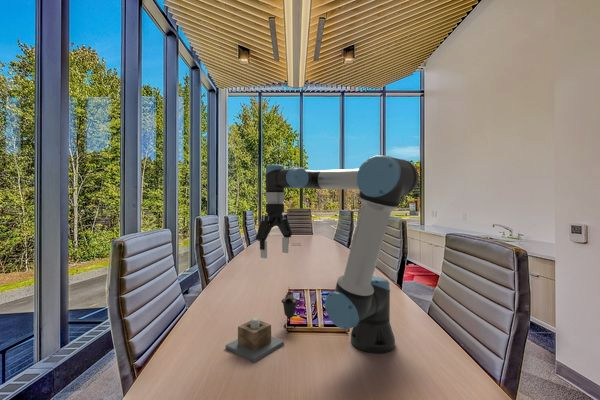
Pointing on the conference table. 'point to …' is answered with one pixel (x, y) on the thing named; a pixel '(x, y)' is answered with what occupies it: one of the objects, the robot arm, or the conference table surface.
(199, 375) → the conference table surface
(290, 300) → the sundae
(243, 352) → the post stand
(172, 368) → the conference table surface
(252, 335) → the collar
